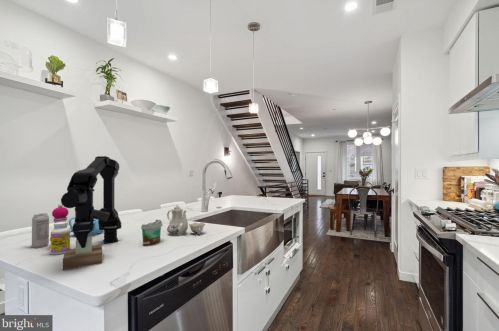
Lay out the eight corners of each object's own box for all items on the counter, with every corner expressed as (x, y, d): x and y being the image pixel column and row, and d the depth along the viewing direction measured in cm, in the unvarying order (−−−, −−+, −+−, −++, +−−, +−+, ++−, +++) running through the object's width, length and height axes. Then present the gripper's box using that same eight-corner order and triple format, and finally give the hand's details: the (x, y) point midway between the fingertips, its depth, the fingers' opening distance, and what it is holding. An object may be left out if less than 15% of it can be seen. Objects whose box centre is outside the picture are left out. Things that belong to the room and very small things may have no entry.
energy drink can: (45, 243, 117) (45, 212, 117) (51, 245, 114) (51, 213, 114) (29, 247, 112) (29, 214, 112) (34, 249, 109) (35, 215, 109)
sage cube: (76, 250, 94) (76, 237, 95) (91, 248, 97) (91, 235, 97) (75, 254, 90) (75, 240, 90) (91, 251, 93) (91, 238, 93)
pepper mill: (53, 251, 106) (54, 205, 106) (47, 248, 110) (47, 204, 110) (72, 246, 112) (73, 203, 113) (65, 244, 116) (66, 202, 116)
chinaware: (210, 235, 135) (212, 205, 137) (187, 240, 121) (190, 206, 123) (176, 229, 150) (178, 202, 152) (152, 232, 136) (155, 203, 138)
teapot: (105, 228, 147) (105, 207, 147) (114, 234, 132) (114, 211, 133) (65, 234, 134) (65, 211, 134) (69, 242, 119) (70, 216, 119)
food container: (153, 247, 110) (153, 225, 111) (141, 246, 112) (141, 224, 112) (167, 239, 122) (167, 219, 123) (156, 239, 124) (156, 219, 124)
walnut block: (66, 259, 95) (66, 249, 96) (101, 254, 102) (101, 244, 102) (62, 270, 85) (62, 258, 85) (102, 263, 92) (102, 252, 92)
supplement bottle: (48, 256, 100) (48, 225, 100) (52, 251, 105) (52, 222, 106) (68, 253, 103) (68, 223, 103) (71, 249, 108) (71, 220, 109)
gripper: (109, 205, 90) (109, 247, 90) (107, 200, 106) (107, 235, 106) (72, 208, 85) (72, 253, 84) (76, 202, 100) (76, 240, 100)
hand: (84, 244), depth 94 cm, fingers open, 9 cm apart
